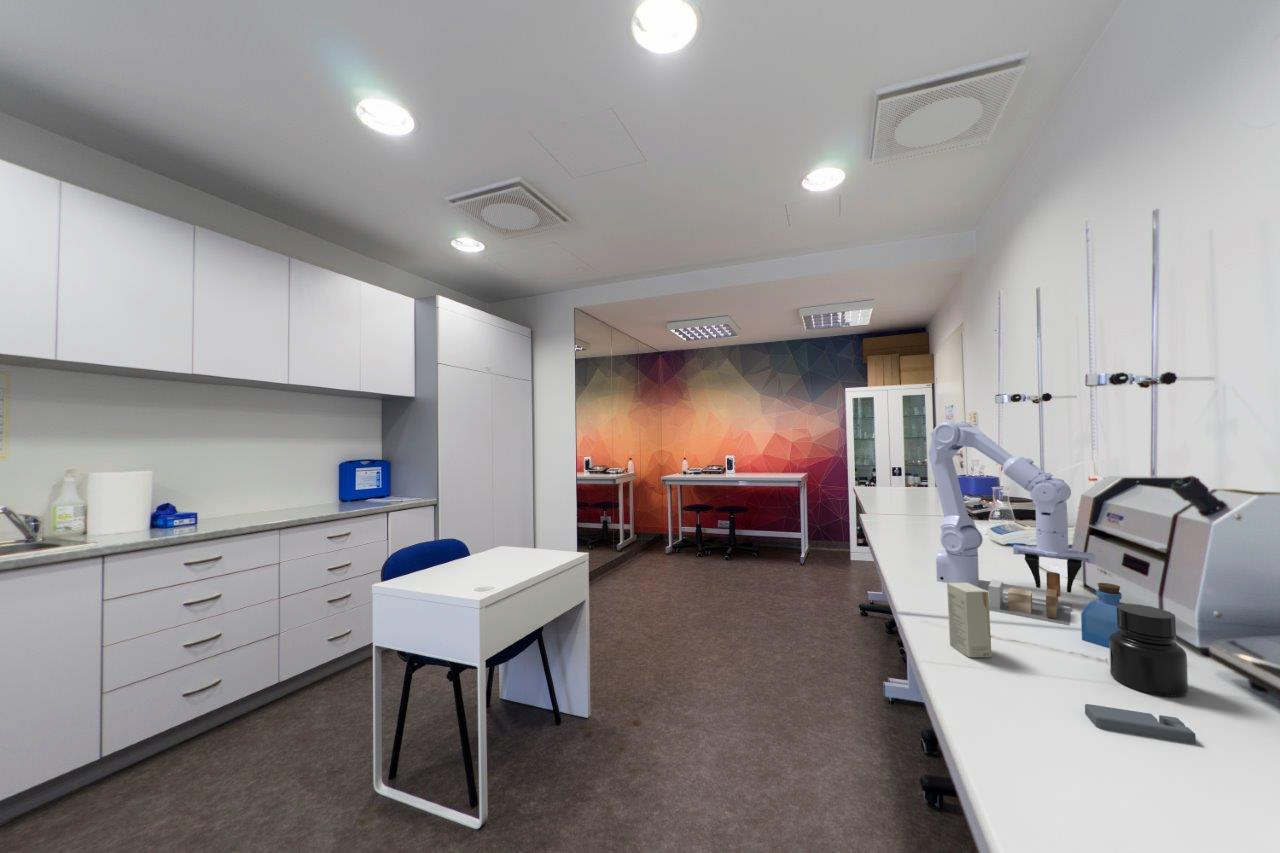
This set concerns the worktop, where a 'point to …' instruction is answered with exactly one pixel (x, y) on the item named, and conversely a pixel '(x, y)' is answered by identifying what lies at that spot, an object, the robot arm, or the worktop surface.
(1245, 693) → the worktop surface
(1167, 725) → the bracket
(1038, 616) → the press base
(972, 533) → the robot arm
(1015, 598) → the birch cube
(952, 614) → the skincare box
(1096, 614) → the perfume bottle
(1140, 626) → the ink bottle
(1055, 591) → the press jaw
